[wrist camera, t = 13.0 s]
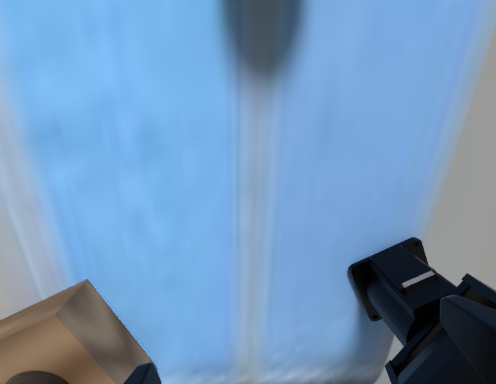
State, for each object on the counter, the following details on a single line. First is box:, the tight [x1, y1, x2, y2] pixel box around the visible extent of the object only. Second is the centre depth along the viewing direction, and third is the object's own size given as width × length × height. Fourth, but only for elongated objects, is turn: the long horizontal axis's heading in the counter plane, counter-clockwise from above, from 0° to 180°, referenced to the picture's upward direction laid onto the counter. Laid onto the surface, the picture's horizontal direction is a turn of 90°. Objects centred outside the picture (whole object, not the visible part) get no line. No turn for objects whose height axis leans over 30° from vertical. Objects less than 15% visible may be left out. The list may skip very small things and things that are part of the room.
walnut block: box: [0, 280, 157, 384], centre depth 21 cm, size 11×11×4 cm
